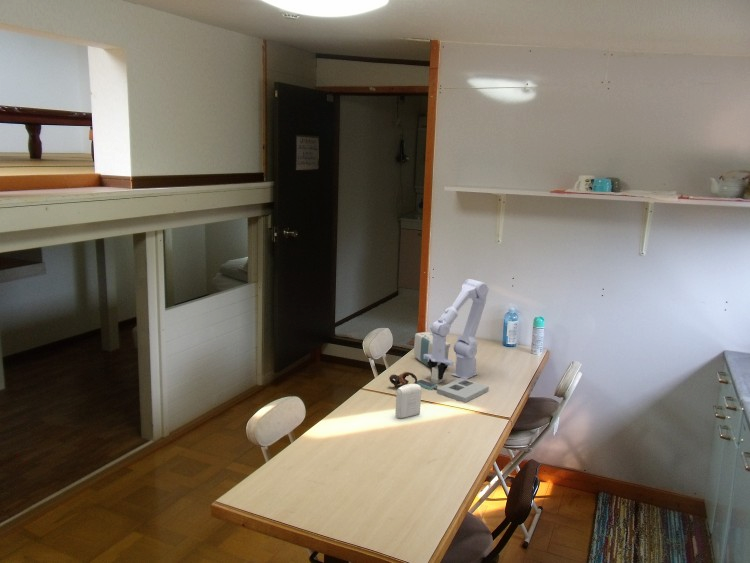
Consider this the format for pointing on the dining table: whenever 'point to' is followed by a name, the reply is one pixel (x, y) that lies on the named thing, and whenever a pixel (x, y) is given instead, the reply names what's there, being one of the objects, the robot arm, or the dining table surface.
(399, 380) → the brown curved looped piece
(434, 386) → the phone with cable
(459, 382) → the outlet plate
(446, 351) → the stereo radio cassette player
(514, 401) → the dining table surface
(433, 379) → the charger plug
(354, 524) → the dining table surface
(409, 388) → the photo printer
